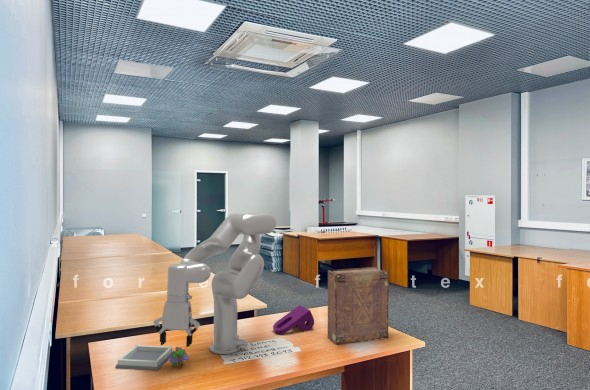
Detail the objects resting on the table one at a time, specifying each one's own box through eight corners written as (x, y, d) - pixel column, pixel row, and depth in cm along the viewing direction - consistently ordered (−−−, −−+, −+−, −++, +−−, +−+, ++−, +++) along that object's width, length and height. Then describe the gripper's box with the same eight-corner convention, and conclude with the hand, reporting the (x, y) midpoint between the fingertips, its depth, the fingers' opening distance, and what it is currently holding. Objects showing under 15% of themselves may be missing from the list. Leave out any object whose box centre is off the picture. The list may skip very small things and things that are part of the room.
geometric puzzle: (192, 363, 147) (187, 341, 151) (173, 368, 143) (169, 345, 147) (186, 369, 152) (183, 348, 156) (168, 373, 148) (165, 352, 152)
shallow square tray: (174, 353, 161) (174, 346, 161) (157, 370, 146) (157, 362, 146) (135, 351, 163) (135, 344, 163) (115, 368, 148) (115, 360, 148)
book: (377, 331, 188) (378, 266, 187) (388, 338, 179) (389, 270, 178) (327, 337, 180) (327, 270, 179) (335, 345, 171) (336, 274, 170)
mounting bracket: (286, 348, 182) (316, 325, 190) (279, 333, 180) (310, 310, 188) (276, 341, 190) (306, 319, 198) (269, 326, 188) (299, 305, 196)
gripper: (203, 296, 152) (202, 342, 152) (159, 294, 153) (157, 339, 153) (197, 301, 144) (195, 350, 144) (150, 299, 146) (148, 346, 146)
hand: (175, 344), depth 149 cm, fingers open, 9 cm apart
